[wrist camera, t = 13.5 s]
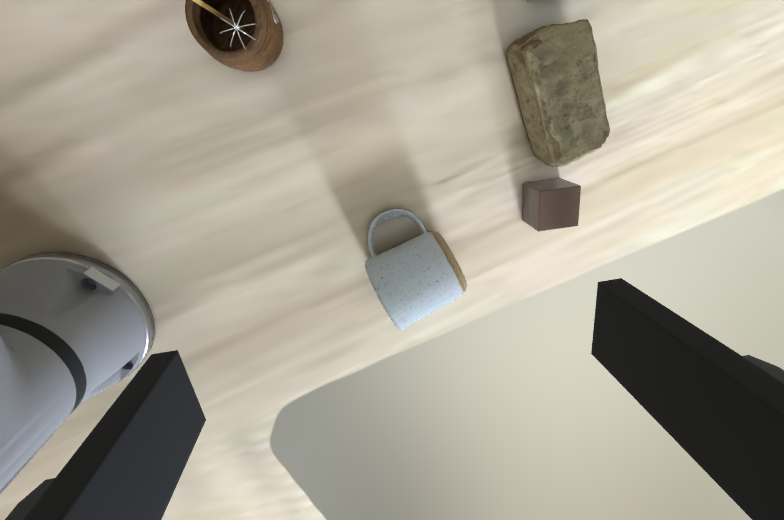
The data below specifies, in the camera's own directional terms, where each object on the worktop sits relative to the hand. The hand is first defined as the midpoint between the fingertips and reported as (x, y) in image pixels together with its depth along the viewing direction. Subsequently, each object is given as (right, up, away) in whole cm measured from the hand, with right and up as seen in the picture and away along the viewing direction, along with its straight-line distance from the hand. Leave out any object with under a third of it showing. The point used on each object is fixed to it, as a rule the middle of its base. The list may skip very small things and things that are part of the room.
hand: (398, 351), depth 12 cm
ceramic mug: (+1, +4, +30) cm, 30 cm away
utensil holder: (-12, +22, +21) cm, 33 cm away
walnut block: (+15, +9, +28) cm, 34 cm away
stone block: (+14, +19, +25) cm, 34 cm away
